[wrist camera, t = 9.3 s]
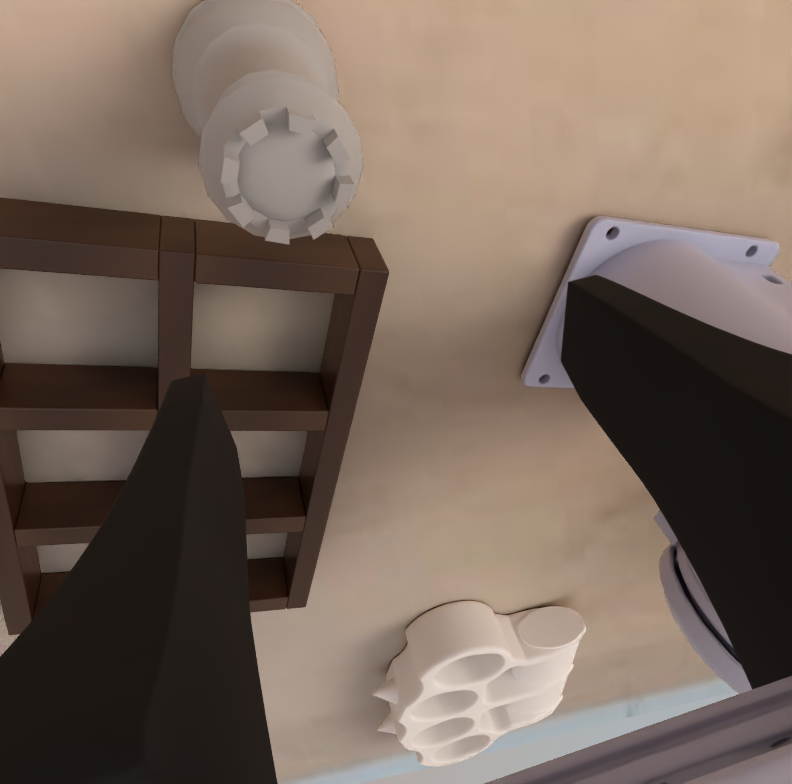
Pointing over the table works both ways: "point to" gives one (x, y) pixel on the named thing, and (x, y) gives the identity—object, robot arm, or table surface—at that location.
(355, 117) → the table surface
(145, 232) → the rack
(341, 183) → the rook chess piece
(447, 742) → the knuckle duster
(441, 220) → the table surface
